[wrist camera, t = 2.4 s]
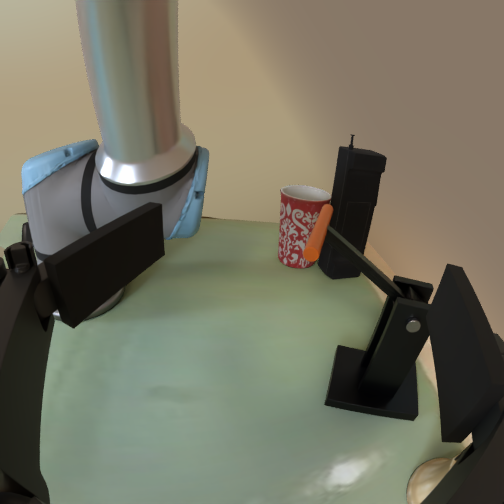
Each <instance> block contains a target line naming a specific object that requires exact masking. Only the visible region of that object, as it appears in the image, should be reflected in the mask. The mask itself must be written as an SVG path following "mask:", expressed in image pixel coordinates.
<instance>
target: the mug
mask: <svg viewBox="0 0 504 504" xmlns="http://www.w3.org/2000/svg"><path fill="white" fill-rule="evenodd" d="M280 191H281V211H280V230H279V249H278V258H279V260H280V261H281V262H282V263H283V264H285V265H287V266H289V267H293V268H308V267H310V266H312V265H313V264H314V263H315V261H314V262H310V261H307V260H306V259H305V258H304V256H303V251H304V249H305V246H306V244H307V242H308V239H309V237H310V235H311V233H312V230H313V228H314V226H315V223H316V221H317V219H318V216H319V214H320V212H321V209H322V207H323V206H324V205H325V204H330V200H331V197H332V196H331V195H330V194H329V193H328V192H326V191H324V190H321V189H318V188H314V187H310V186H304V185H289V186H285V187H283V188H281V190H280Z"/></svg>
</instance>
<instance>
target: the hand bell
mask: <svg viewBox="0 0 504 504" xmlns="http://www.w3.org/2000/svg"><path fill="white" fill-rule="evenodd" d="M459 454H460V453H459ZM459 454H458V455H459ZM458 455H456V456H455V457H453V458H451V459H448V458H436V459H432V460H429V461H427V462H425V463H423V464H422V465H421V466H419V467H418V468H417V469H416V470H415V472H414V473H413V474H412V476H411V478H410V480H409V483H408V487H407V502H408V504H420V503H421V502H422V501H423V500H424V499H425V498H426V497H427V496H428V495H429V494H430V492H431V491H432V490H433V489H434V488H435V487H436V486H437V485H438V483H439V482H440V481H441V480H442V479H443V477H444V476H445V475H446V474H447V473H448V471H449V470H450V469H451V468H452V466H453V465H454V464H455V463H456V461H457V460H456V461H455V460H454V458H456V457H457V456H458Z"/></svg>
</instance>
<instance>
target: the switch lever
mask: <svg viewBox="0 0 504 504" xmlns="http://www.w3.org/2000/svg"><path fill="white" fill-rule="evenodd" d="M332 213H333V207H332V206H331V205H330V204H325V205H324V206H323V207H322V209H321V212H320V214H319V216H318V219H317V221H316V223H315V226H314V228H313V230H312V233H311V235H310V237H309V239H308V242H307V244H306V246H305V249H304V251H303V256H304V258H305V259H306V260H307V261H310V262H314V261H316V260H317V259H318V258H319V255H320V252H321V249H322V246H323V243H324V240H325V241H326V242H327V243H328V244H330V245H331V246H332V247H333V248H334V249H335V250H337V251H338V252H339V253H340V254H341V255H342V256H344V257H345V258H346V259H347V260H348V261H349V262H351V263H352V264H353V265H354V266H355V267H356V268H357V269H359V270H360V271H361V272H362V273H363V274H364V275H365V276H366V277H368V278H369V279H370V280H371V281H372V282H373V283H374V284H375V285H377V286H378V287H379V288H380V289H381V290H382V291H383V292H384V293H385V294H387V295H388V296H389V297H390V298H391V299H392V300H393V307H394V304H395V301H396V299H397V297H400V298H405V299H409V300H414V301H418V302H423V303H426V302H425V301H424V300H423V299H422V298H421V297H420V296H419V295H418V294H417V293H416V292H415V291H414V290H413V289H412V288H411V287H408V288H407V289H406V290H405V291H404V292H403V291H402V290H401V289H400V288H399V287H398V286H397V285H396V284H394V283H393V282H392V281H391V280H390V279H389V278H388V277H387V276H386V275H385V274H384V273H383V272H382V271H380V270H379V269H378V268H377V267H376V266H375V265H374V264H373V263H372V262H371V261H369V260H368V259H367V258H366V257H365V256H364V255H363V254H362V253H360V252H359V251H358V250H357V249H356V248H355V247H354V246H353V245H351V244H350V243H349V242H348V241H347V240H346V239H344V238H343V237H342V236H341V235H340V234H339V233H338V232H336V231H335V230H334V229H333V228H332V227H330V226H329V223H330V220H331V217H332Z"/></svg>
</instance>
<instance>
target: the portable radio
mask: <svg viewBox="0 0 504 504" xmlns="http://www.w3.org/2000/svg"><path fill="white" fill-rule="evenodd" d="M353 136H354V135H352V137H351V144H350V145H349V147H339V152H338V159H337V166H336V172H335V178H334V185H333V191H332V197H331V202H330V205H331V206H332V207H333V213H332V217H331V220H330V223H329V226H330V227H332V228H333V229H334V230H335V231H336V232H338V233H339V234H340V235H341V236H342V237H343V238H344V239H346V240H347V241H348V242H349V243H350V244H351V245H353V246H354V247H355V248H356V249H357V250H358V251H359V252H360V253H362V254H364V250H365V246H366V242H367V237H368V234H369V230H370V225H371V220H372V216H373V212H374V207H375V206H376V204H377V197H378V191H379V184H380V178H381V174H382V172H384V171H385V165H386V159H387V158H386V157H385V156H384V155H382V154H379V153H377V152H374V151H371V150H365V149H358V148H353ZM318 265H319V267H320V268H321V269H322V271H323V272H324V273H325V274H326V275H327V276H328V277H330V278H332V279H340V278H350V277H358V276H360V273H361V271H360V270H359V269H357V268H356V267H355V266H354V265H353V264H352V263H351V262H349V261H348V260H347V259H346V258H345V257H344V256H342V255H341V254H340V253H339V252H338V251H337V250H335V249H334V248H333V247H332V246H331V245H330V244H328V243H327V242H326V241H325V240H324V243H323V246H322V249H321V252H320V256H319V260H318Z"/></svg>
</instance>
